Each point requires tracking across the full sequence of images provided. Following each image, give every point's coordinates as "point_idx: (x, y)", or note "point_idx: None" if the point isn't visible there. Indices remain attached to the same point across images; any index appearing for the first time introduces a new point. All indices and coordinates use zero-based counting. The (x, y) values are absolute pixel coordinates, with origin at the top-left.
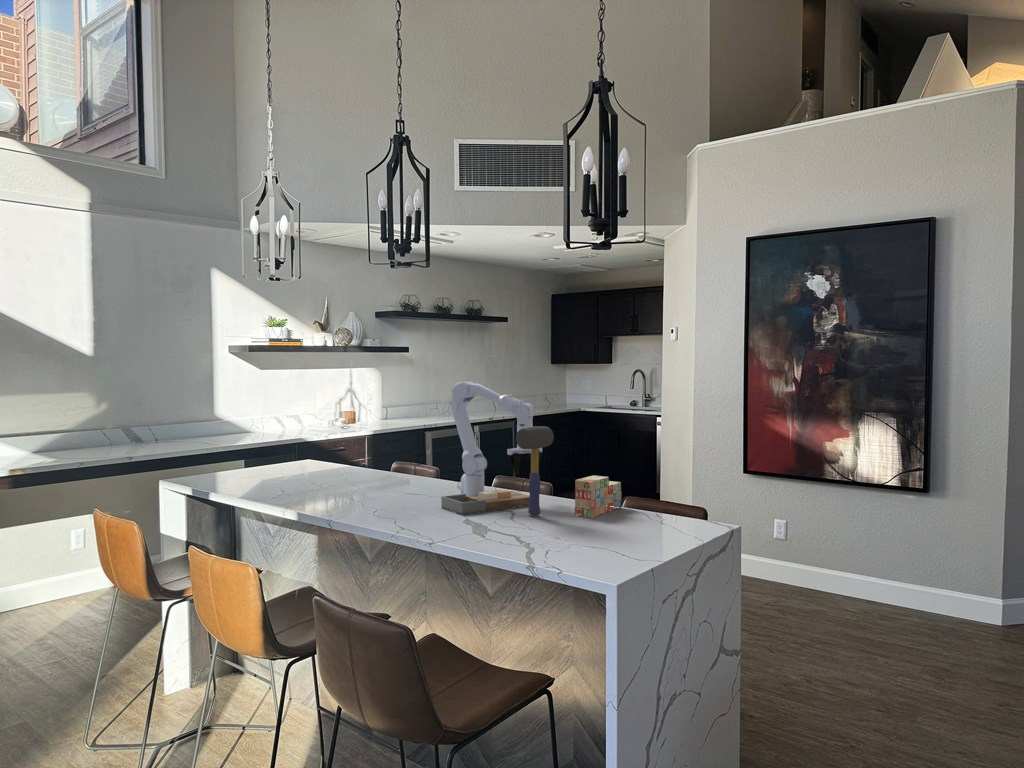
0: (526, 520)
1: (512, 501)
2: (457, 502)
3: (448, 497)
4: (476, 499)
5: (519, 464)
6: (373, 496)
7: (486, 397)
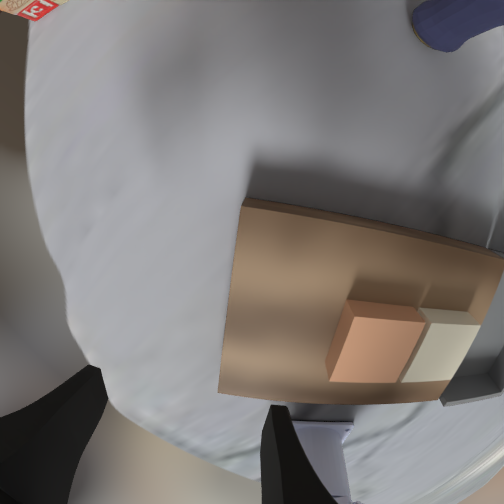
0: None
1: (396, 232)
2: None
3: (489, 391)
4: None
5: (281, 477)
6: (420, 488)
7: None
